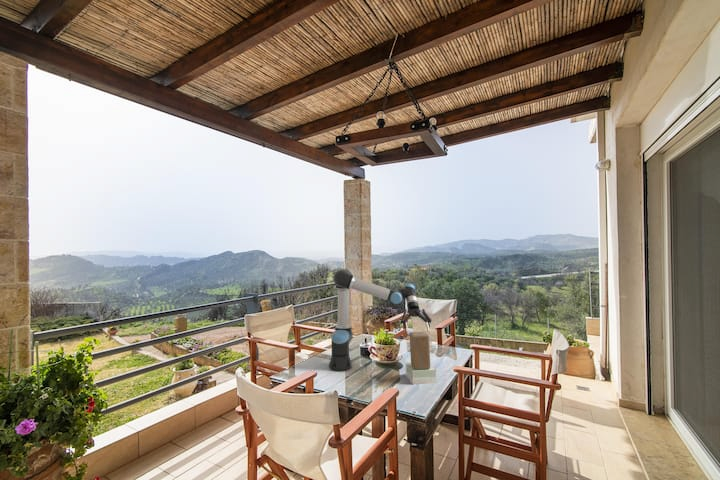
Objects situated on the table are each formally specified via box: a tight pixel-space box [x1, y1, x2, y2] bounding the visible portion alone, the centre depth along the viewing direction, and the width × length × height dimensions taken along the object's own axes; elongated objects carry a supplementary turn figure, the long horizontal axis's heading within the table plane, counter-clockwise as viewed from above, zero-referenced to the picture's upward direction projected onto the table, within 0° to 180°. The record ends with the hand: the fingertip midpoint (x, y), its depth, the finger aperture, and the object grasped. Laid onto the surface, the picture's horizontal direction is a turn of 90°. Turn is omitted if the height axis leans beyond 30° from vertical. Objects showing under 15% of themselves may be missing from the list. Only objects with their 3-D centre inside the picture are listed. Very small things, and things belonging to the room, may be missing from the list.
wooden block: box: [409, 331, 431, 370], centre depth 196 cm, size 10×10×20 cm
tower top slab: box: [405, 362, 437, 378], centre depth 196 cm, size 14×14×4 cm
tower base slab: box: [405, 369, 437, 385], centre depth 196 cm, size 14×14×4 cm
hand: (418, 332), depth 204 cm, fingers open, 13 cm apart
